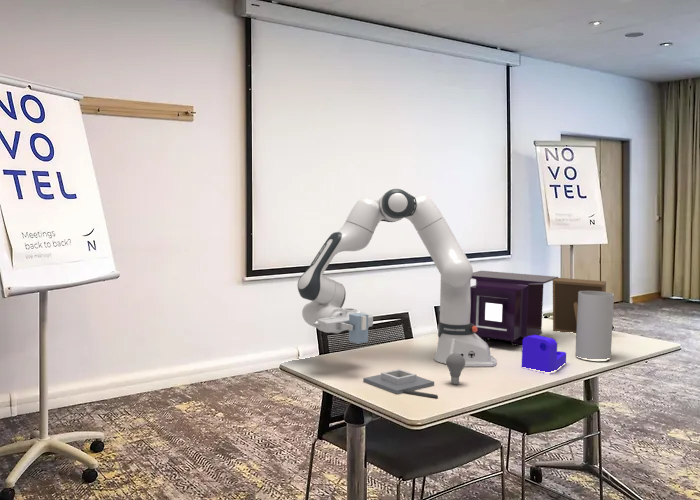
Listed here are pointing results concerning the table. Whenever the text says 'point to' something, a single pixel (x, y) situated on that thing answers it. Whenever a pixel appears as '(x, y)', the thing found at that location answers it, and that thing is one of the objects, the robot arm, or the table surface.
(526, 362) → the bracket
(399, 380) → the board
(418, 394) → the rod
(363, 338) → the plug block
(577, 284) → the photo frame
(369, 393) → the table surface
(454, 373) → the light bulb
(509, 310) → the dark purple stove
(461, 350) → the robot arm
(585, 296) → the cylinder vase
